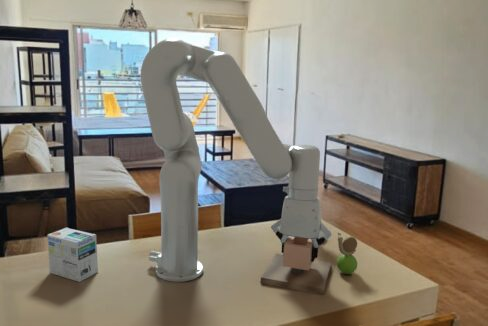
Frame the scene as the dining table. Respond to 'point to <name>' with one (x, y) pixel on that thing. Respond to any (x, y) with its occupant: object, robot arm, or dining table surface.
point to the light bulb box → (72, 254)
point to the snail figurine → (347, 255)
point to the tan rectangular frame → (297, 253)
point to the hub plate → (297, 275)
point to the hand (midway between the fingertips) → (299, 257)
